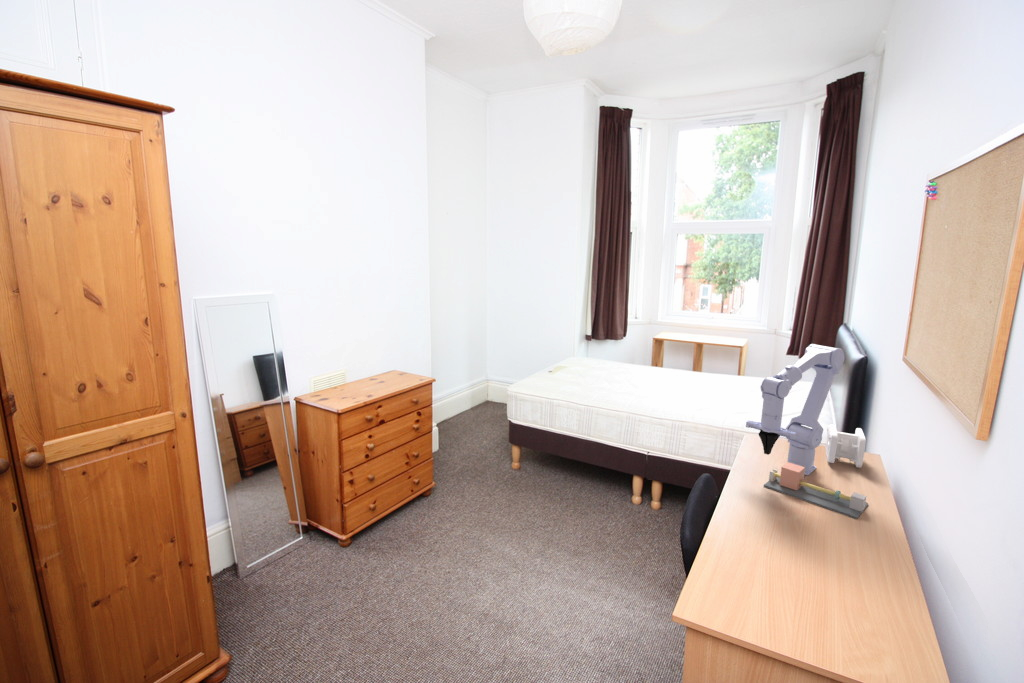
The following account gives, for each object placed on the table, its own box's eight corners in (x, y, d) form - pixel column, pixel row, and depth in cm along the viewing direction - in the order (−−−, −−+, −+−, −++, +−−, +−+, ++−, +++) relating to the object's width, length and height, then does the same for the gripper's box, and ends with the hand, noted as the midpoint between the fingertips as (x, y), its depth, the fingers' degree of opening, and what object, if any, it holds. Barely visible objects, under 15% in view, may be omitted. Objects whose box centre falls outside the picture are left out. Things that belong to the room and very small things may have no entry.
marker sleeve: (785, 479, 153) (788, 462, 152) (802, 485, 149) (805, 467, 148) (779, 484, 149) (781, 467, 148) (796, 490, 145) (799, 472, 144)
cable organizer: (862, 472, 161) (867, 440, 159) (825, 465, 166) (830, 434, 164) (857, 456, 173) (861, 427, 171) (823, 450, 179) (827, 421, 176)
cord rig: (777, 475, 158) (778, 463, 157) (867, 504, 139) (870, 491, 138) (763, 486, 150) (764, 473, 149) (857, 519, 131) (859, 504, 130)
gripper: (743, 411, 154) (739, 449, 156) (792, 422, 143) (787, 464, 145) (752, 406, 158) (748, 444, 161) (800, 417, 148) (794, 457, 150)
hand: (767, 453), depth 153 cm, fingers closed
